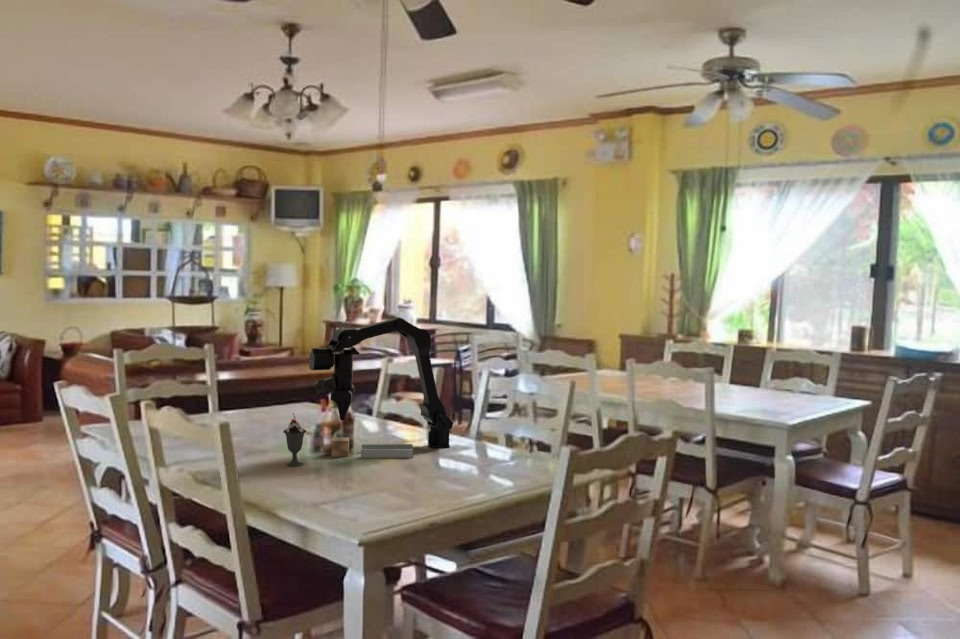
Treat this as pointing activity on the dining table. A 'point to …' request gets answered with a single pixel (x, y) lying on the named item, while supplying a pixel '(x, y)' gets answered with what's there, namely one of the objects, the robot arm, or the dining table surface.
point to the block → (340, 447)
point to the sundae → (294, 441)
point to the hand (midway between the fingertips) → (342, 419)
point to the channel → (387, 451)
